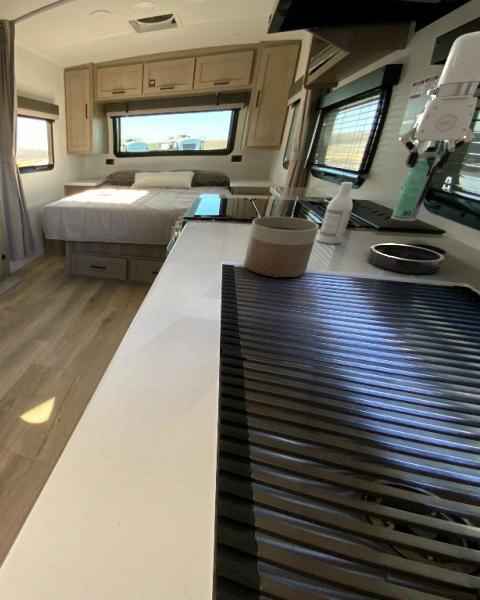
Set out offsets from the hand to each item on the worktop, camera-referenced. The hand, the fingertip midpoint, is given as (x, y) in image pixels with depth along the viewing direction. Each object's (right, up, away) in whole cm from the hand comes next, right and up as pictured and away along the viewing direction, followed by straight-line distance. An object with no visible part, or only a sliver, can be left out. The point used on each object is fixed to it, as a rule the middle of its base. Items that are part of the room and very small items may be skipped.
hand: (424, 166), depth 94 cm
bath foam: (-9, -17, +24) cm, 31 cm away
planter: (-41, -29, +4) cm, 50 cm away
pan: (-4, -28, +3) cm, 28 cm away
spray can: (+1, -13, +7) cm, 15 cm away
